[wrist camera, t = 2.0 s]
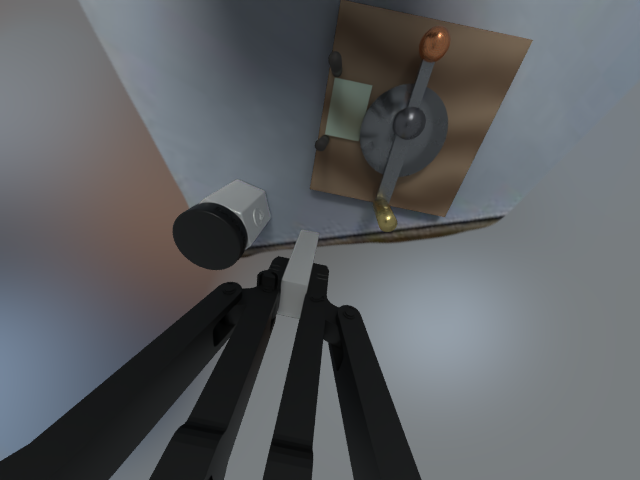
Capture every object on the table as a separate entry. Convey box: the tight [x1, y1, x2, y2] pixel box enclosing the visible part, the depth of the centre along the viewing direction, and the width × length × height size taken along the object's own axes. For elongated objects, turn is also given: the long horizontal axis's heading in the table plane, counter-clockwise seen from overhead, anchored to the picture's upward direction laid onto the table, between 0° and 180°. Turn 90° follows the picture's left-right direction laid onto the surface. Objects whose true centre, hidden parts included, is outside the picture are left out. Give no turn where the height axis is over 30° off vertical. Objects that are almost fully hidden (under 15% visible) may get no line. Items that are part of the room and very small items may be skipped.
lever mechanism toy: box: [310, 0, 533, 217], centre depth 26 cm, size 20×20×8 cm
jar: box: [173, 179, 271, 270], centre depth 32 cm, size 9×8×12 cm
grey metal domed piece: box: [360, 25, 451, 232], centre depth 25 cm, size 19×10×8 cm, turn 170°
